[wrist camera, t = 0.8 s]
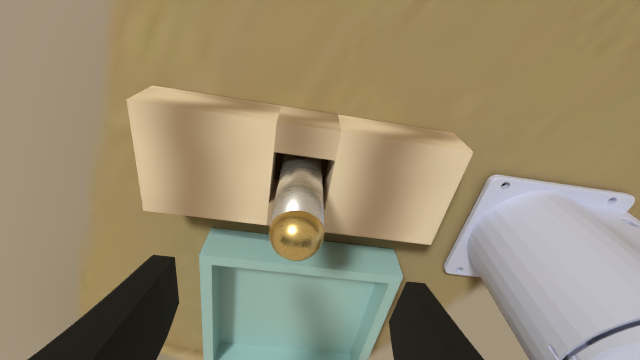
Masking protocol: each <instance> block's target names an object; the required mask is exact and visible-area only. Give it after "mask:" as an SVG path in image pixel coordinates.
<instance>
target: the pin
mask: <svg viewBox="0 0 640 360" xmlns="http://www.w3.org/2000/svg"><path fill="white" fill-rule="evenodd" d="M269 240H270V243H271V246H272V248H273V249H274V251H275V252H276V253H277V254H278V255H279V256H281V257H282V258H284V259H286V260H289V261H303V260H306V259H309V258H310V257H312V256H313V255H315V254H316V253H317V252H318V250H319V249H320V247H321V245H322V243H323V240H324V210H323V185H322V161H321V159H320V158H313V157H306V156H299V155H292V154H284V157H283V162H282V167H281V172H280V177H279V182H278V187H277V192H276V197H275V202H274V207H273V212H272V217H271V222H270V227H269Z"/></svg>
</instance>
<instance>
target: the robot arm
mask: <svg viewBox="0 0 640 360" xmlns="http://www.w3.org/2000/svg"><path fill="white" fill-rule="evenodd" d="M505 182H506V184H505V185H503V186H501V185H502V184H503V183H505ZM634 202H635V198H634V197H633V196H631V195H630V194H627V193H621V192H614V191H607V190H600V189H593V188H586V187H579V186H572V185H566V184H559V183H552V182H545V181H538V180H531V179H524V178H518V177H511V176H504V175H493V176H491V177H490V178H488V180H487V181H486V183H485V185H484V187H483V189H482V191H481V193H480V195H479V197H478V199H477V201H476V203H475V205H474V207H473V209H472V211H471V213H470V215H469V216H468V218H467V220H466V222H465V224H464V226H463V228H462V230H461V232H460V234H459V236H458V238H457V240H456V242H455V244H454V246H453V248H452V250H451V252H450V254H449V256H448V258H447V260H446V262H445V264H444V266H443V267H444V270H445V272H446V273H449V274H456V275H465V276H474V277H481V279H482V281H483V282H484V284H485V286H486V287H487V289H488V290H489V292H490V294H491V296H492V297H493V299H494V301H495V302H496V304H497V306H498V307H499V309H500V311H501V312H502V314H503V316H504V317H505V319H506V321H507V322H508V324H509V326H510V327H511V329H512V331H513V333H514V334H515V336H516V338H517V339H518V341H519V343H520V344H521V346H522V348H523V349H524V351H525V353H526V354H527V356H528V358H529V359H530V360H640V220H638V219H637V218H635V217H634V216H632V215H631V214H629V213H628V212H627V211H628V210H629V209H630V207H631V206H632V205H633V204H634ZM178 304H179V296H178V286H177V276H176V266H175V257H168V256H159V255H153V256H151V257H150V258H149V259H148V260H146V261H145V262H144V263H143V264H142V265H141V266H140V267H139V268H138V269H137V270H135V271H134V272H133V273H132V274H131V275H130V276H129V277H128V278H127V279H125V280H124V281H123V282H122V283H121V284H120V285H119V286H118V287H116V288H115V289H114V290H113V291H112V292H111V293H110V294H108V295H107V296H106V297H105V298H104V299H103V300H101V301H100V302H99V303H98V304H97V305H95V306H94V307H93V308H92V309H91V310H90V311H88V312H87V313H86V314H85V315H84V316H83V317H81V318H80V319H79V320H78V321H76V322H75V323H74V324H73V325H71V326H70V327H69V328H68V329H66V330H65V331H64V332H63V333H61V334H60V335H59V336H58V337H56V338H55V339H54V340H52V341H51V342H50V343H49V344H47V345H46V346H45V347H44V348H42V349H41V350H40V351H39V352H37V353H36V354H34V355H33V356H32V357H31V358H29V359H28V360H156V359H157V357H158V355H159V353H160V351H161V349H162V346H163V344H164V342H165V340H166V338H167V335H168V333H169V330H170V327H171V324H172V322H173V319H174V316H175V313H176V310H177V307H178ZM389 326H390V335H391V343H392V349H393V356H394V360H484V359H483V358H482V356H481V355H480V354H479V353H478V352H477V350H476V349H475V348H474V347H473V345H472V344H471V343H470V342H469V340H468V339H467V338H466V337H465V335H464V334H463V333H462V331H460V329H459V328H458V326H457V325H456V324H455V322H454V321H453V320H452V319H451V317H450V316H449V315H448V313H447V312H446V311H445V309H444V308H443V307H442V305H441V304H440V303H439V301H438V300H437V299H436V297H435V296H434V295H433V293H432V292H431V291H430V289H429V288H428V287H427V286H426V284H425V283H416V282H406V284H405V286H404V289H403V291H402V293H401V296H400V298H399V300H398V302H397V305H396V307H395V309H394V311H393V314H392V316H391V318H390V320H389Z"/></svg>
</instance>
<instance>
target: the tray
mask: <svg viewBox="0 0 640 360" xmlns="http://www.w3.org/2000/svg"><path fill="white" fill-rule="evenodd" d="M199 262H200V285H201V308H202V331H203V354H204V360H368V358H369V356H370V353H371V351H372V349H373V346H374V344H375V342H376V339H377V337H378V335H379V332H380V330H381V328H382V325H383V323H384V321H385V318H386V316H387V314H388V311H389V309H390V307H391V304H392V302H393V300H394V297H395V295H396V293H397V290H398V288H399V286H400V283H401V281H402V279H403V275H402V272H401V269H400V266H399V262H398V259H397V256H396V253H395V250H394V249H390V248H381V247H373V246H364V245H356V244H347V243H339V242H330V241H323V243H322V245H321V247H320V249H319V250H318V252H317V253H316V254H315V255H313V256H312V257H310V258H309V259H306V260H303V261H289V260H286V259H284V258H282V257H281V256H279V255H278V254H277V253H276V252H275V251H274V249H273V248H272V246H271V243H270V240H269V234H262V233H253V232H245V231H236V230H228V229H219V228H211V230H210V232H209V235H208V237H207V239H206V241H205V243H204V246H203V248H202V250H201V252H200V254H199Z"/></svg>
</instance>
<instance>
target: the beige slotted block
mask: <svg viewBox="0 0 640 360" xmlns="http://www.w3.org/2000/svg"><path fill="white" fill-rule="evenodd" d="M127 105H128V112H129V118H130V125H131V131H132V138H133V145H134V151H135V158H136V164H137V171H138V178H139V184H140V191H141V197H142V204H143V211H151V212H160V213H168V214H176V215H185V216H193V217H201V218H210V219H218V220H227V221H235V222H243V223H252V224H260V225H268V226H270V222H271V217H272V212H273V207H274V202H275V197H276V192H277V187H278V182H279V180H277V179H274V175H275V165H276V156H277V152H278V153H285V154H292V155H299V156H306V157H313V158H320V159H327V160H329V162H328V167H327V172H326V177H325V182H324V186H323V210H324V232H327V233H335V234H343V235H352V236H360V237H369V238H377V239H385V240H394V241H402V242H410V243H419V244H427V245H431V243H432V241H433V239H434V237H435V235H436V233H437V230H438V228H439V226H440V224H441V222H442V219H443V217H444V215H445V213H446V211H447V209H448V206H449V204H450V202H451V200H452V198H453V196H454V193H455V191H456V189H457V187H458V185H459V182H460V180H461V178H462V176H463V174H464V172H465V169H466V167H467V165H468V163H469V161H470V158H471V156H472V154H473V151H472V150H471V149H470V148H469V147H468V146H467V145H466V144H464V143H463V142H462V141H461V140H460V139H459V138H458V137H457V136H456V135H455V134H454V133H452V132H445V131H439V130H433V129H426V128H420V127H414V126H407V125H401V124H395V123H388V122H382V121H375V120H369V119H363V118H356V117H350V116H344V115H337V114H331V113H325V112H318V111H312V110H306V109H299V108H293V107H286V106H280V105H274V104H267V103H261V102H255V101H248V100H242V99H236V98H229V97H223V96H216V95H210V94H204V93H197V92H191V91H185V90H178V89H172V88H166V87H159V86H151V87H149V88H147V89H145V90H143V91H142V92H140V93H138V94H136V95H134V96H132V97H130V98H128V99H127Z"/></svg>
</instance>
